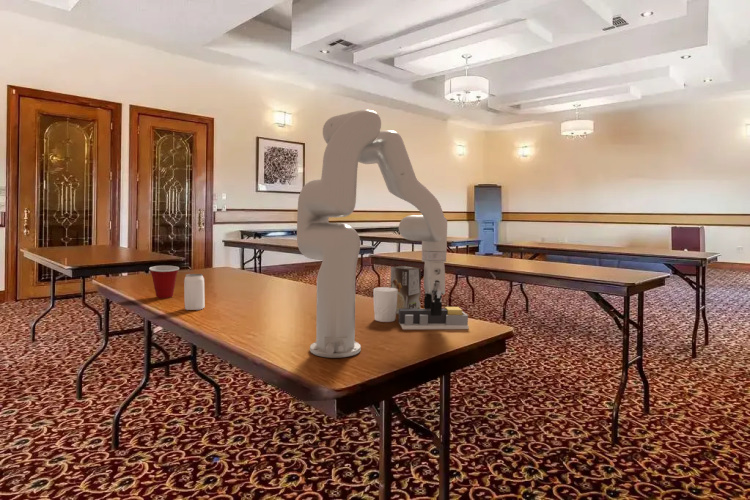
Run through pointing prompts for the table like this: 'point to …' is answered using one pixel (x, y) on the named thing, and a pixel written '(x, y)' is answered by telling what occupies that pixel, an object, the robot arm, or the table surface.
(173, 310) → the table surface
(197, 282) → the can
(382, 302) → the white cup
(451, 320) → the clip rail
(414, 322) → the gray box yellow end
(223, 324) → the table surface
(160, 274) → the plastic cup
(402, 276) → the coffee box
